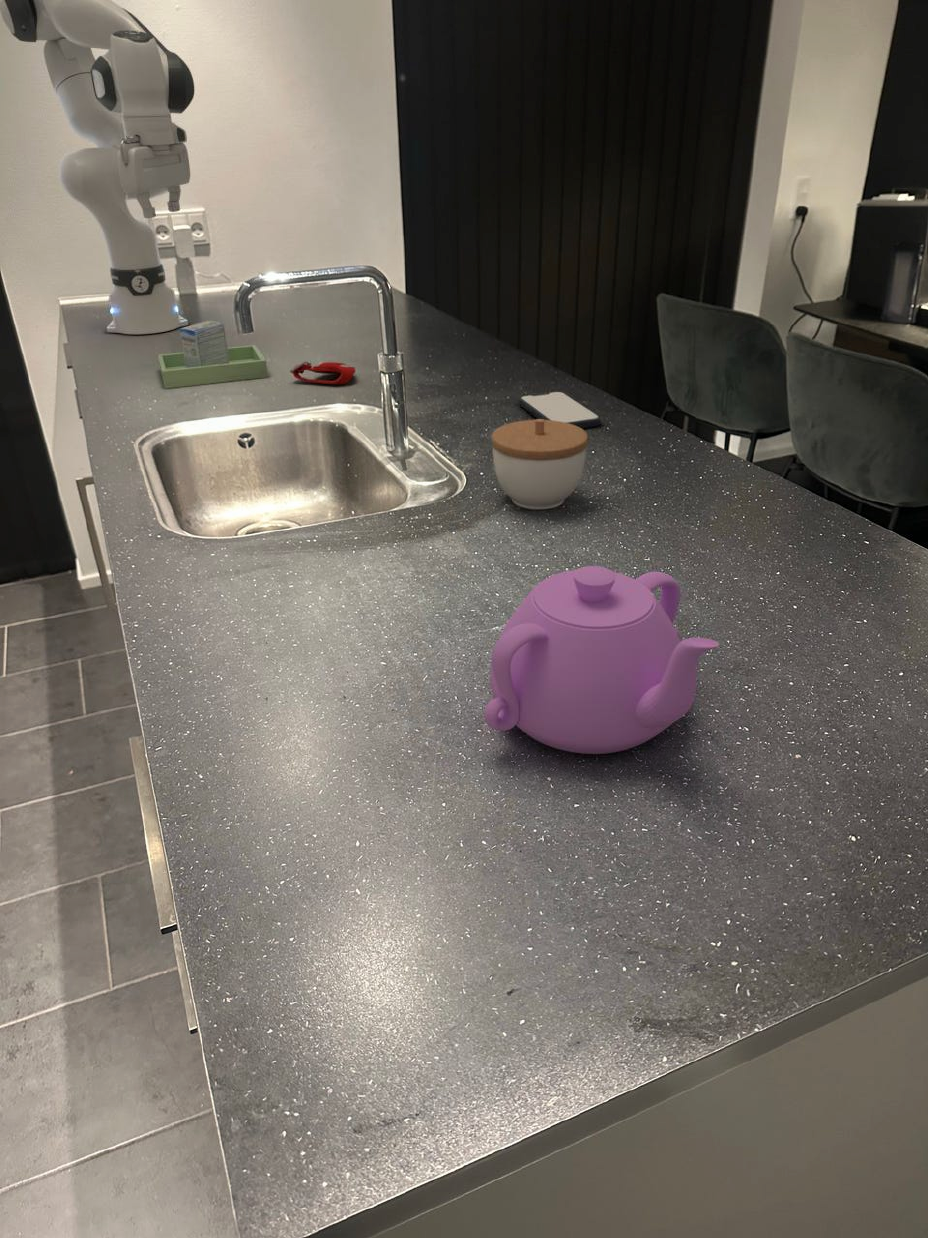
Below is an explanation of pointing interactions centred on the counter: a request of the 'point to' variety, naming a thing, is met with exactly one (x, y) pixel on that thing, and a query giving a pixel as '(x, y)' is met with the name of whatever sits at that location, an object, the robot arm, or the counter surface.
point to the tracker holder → (325, 371)
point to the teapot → (594, 662)
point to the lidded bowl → (539, 461)
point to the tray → (213, 368)
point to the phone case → (559, 409)
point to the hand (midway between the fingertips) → (162, 214)
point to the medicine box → (204, 344)
